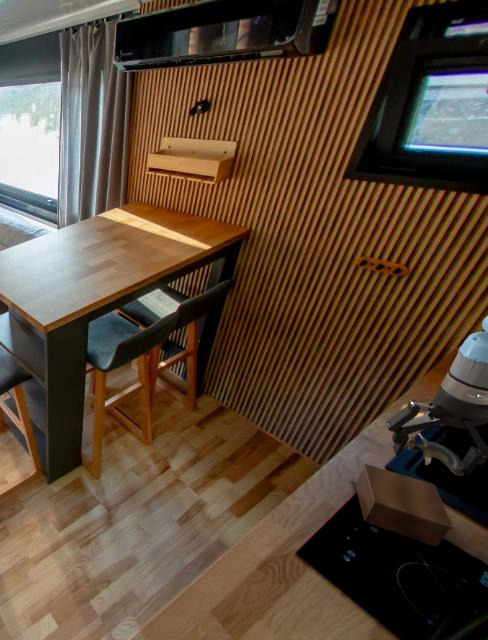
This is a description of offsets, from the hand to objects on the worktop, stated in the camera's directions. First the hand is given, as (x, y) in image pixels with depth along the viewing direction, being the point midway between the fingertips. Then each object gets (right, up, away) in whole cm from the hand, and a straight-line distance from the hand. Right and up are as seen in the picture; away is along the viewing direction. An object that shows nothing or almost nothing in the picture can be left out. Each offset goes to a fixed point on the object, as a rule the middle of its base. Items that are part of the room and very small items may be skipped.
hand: (429, 460), depth 90 cm
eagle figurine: (0, 0, 0) cm, 1 cm away
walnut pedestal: (-12, -12, -2) cm, 17 cm away
